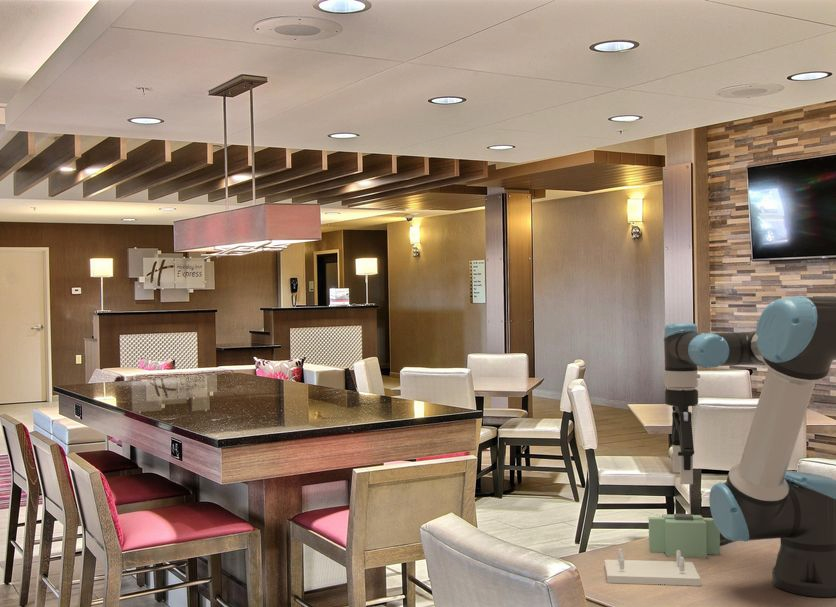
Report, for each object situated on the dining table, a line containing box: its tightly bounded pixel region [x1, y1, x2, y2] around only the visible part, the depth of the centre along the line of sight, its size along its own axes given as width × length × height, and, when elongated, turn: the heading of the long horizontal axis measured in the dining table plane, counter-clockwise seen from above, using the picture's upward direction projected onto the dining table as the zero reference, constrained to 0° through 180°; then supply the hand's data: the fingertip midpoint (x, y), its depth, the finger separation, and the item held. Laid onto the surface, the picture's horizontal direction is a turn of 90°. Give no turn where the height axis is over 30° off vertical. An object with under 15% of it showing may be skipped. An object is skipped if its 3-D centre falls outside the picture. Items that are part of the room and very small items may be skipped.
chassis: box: [604, 548, 702, 587], centre depth 192 cm, size 19×12×5 cm, turn 81°
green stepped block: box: [648, 513, 721, 558], centre depth 209 cm, size 16×8×9 cm, turn 81°
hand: (682, 478), depth 210 cm, fingers open, 13 cm apart
